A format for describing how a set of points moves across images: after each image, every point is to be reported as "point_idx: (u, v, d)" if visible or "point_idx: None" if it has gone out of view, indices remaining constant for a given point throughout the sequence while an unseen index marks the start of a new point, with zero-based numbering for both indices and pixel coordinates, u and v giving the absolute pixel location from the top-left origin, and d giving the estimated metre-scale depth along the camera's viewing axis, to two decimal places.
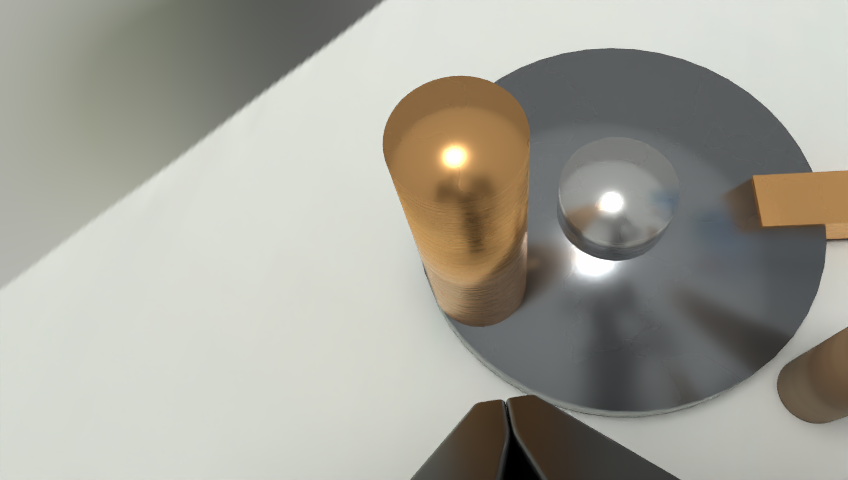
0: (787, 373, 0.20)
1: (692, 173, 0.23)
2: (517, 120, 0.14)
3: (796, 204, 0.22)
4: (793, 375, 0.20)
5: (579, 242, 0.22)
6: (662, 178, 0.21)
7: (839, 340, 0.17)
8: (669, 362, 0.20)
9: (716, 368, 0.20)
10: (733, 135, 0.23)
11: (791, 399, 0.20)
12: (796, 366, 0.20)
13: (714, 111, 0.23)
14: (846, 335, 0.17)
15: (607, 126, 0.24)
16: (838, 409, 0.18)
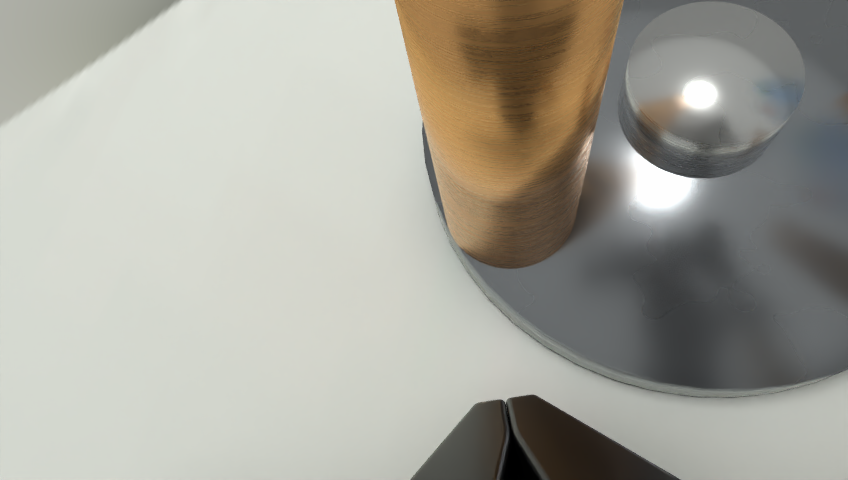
0: None
1: (808, 60, 0.16)
2: None
3: None
4: None
5: (653, 151, 0.15)
6: (778, 56, 0.15)
7: None
8: (785, 319, 0.14)
9: None
10: None
11: None
12: None
13: None
14: None
15: None
16: None
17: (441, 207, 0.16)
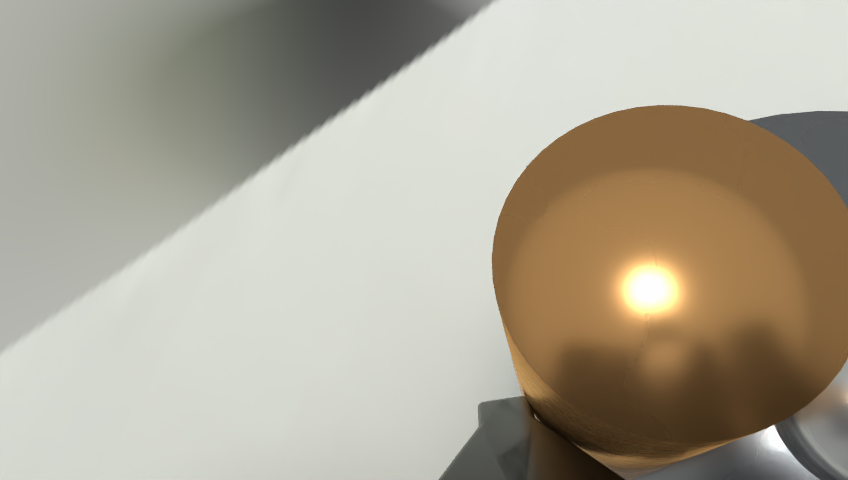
0: None
1: None
2: (839, 287, 0.05)
3: None
4: None
5: (788, 432, 0.13)
6: None
7: None
8: None
9: None
10: None
11: None
12: None
13: None
14: None
15: None
16: None
17: None
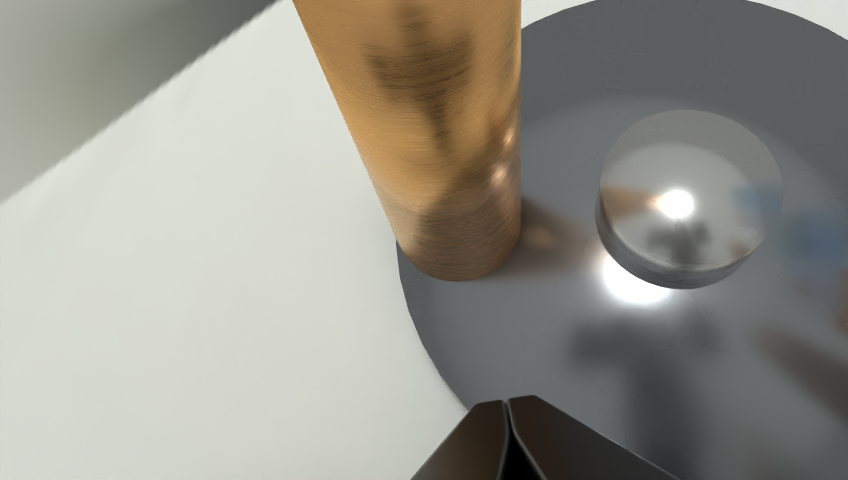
0: None
1: (813, 219, 0.15)
2: None
3: None
4: None
5: (604, 232, 0.15)
6: (759, 198, 0.14)
7: None
8: (635, 441, 0.14)
9: None
10: None
11: None
12: None
13: None
14: None
15: (730, 109, 0.17)
16: None
17: None
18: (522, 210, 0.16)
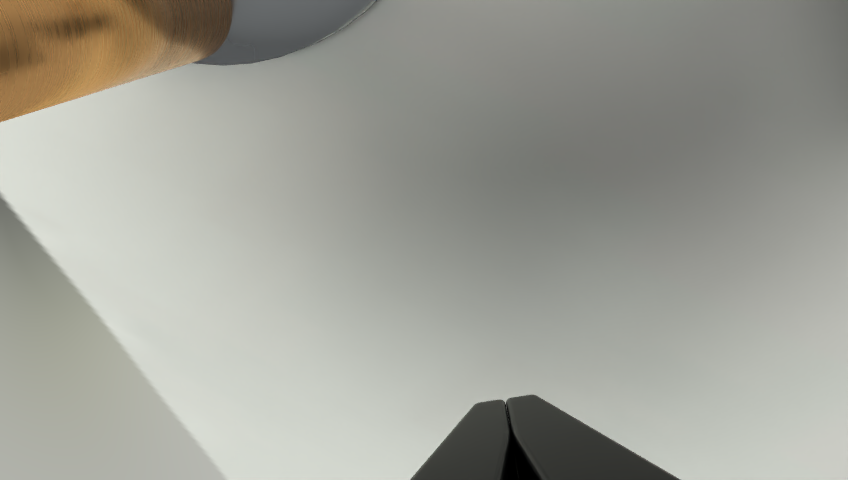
0: None
1: None
2: None
3: None
4: None
5: None
6: None
7: None
8: None
9: None
10: None
11: None
12: None
13: None
14: None
15: None
16: None
17: None
18: None
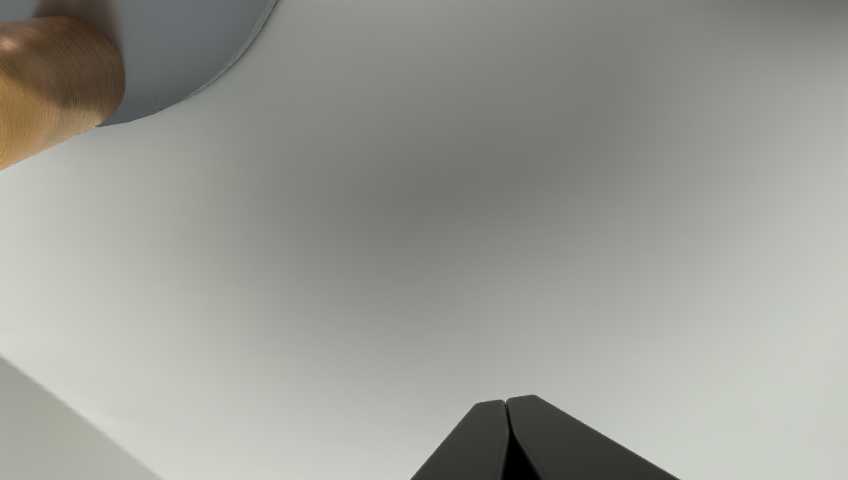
0: None
1: None
2: None
3: None
4: None
5: None
6: None
7: None
8: None
9: None
10: None
11: None
12: None
13: None
14: None
15: None
16: None
17: None
18: (47, 14, 0.18)
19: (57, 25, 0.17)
